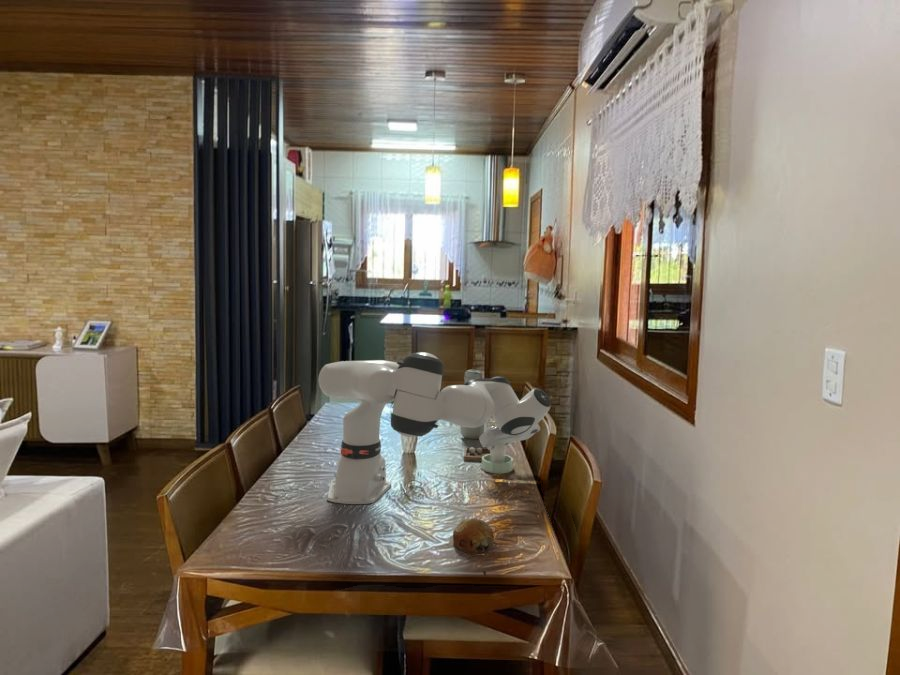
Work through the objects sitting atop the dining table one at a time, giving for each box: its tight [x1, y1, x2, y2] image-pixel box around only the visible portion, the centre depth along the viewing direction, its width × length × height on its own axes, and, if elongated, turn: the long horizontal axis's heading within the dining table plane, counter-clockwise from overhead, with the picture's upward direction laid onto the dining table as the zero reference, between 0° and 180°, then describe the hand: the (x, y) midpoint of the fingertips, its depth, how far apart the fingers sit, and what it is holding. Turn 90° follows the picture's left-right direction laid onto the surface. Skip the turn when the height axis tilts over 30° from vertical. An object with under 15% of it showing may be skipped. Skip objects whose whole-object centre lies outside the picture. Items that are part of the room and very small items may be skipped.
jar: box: [490, 444, 506, 463], centre depth 204 cm, size 5×5×11 cm
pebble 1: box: [469, 446, 476, 454], centre depth 220 cm, size 2×2×2 cm
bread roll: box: [452, 518, 495, 554], centre depth 150 cm, size 10×10×8 cm
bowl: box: [481, 454, 514, 474], centre depth 205 cm, size 10×10×4 cm
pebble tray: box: [463, 447, 490, 463], centre depth 217 cm, size 11×10×2 cm
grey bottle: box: [459, 369, 485, 440], centre depth 241 cm, size 10×10×28 cm
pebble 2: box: [476, 447, 482, 454], centre depth 220 cm, size 2×2×2 cm
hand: (496, 446), depth 205 cm, fingers closed on jar, 5 cm apart
